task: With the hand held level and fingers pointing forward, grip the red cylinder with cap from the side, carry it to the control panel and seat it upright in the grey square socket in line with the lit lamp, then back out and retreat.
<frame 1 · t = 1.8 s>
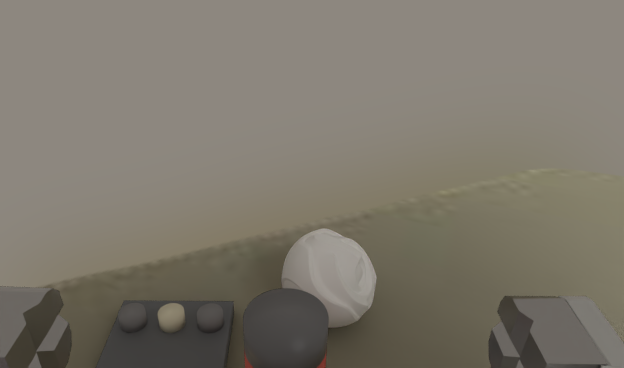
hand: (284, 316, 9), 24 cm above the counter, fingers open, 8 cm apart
white swirled ball: (325, 314, 43), on the counter
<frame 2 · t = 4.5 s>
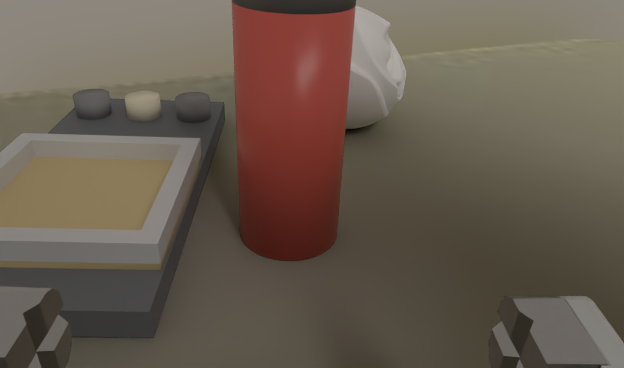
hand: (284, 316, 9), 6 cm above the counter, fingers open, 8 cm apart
control panel: (110, 190, 25), on the counter
white swirled ball: (341, 126, 34), on the counter
red cylinder with cap: (288, 230, 23), on the counter
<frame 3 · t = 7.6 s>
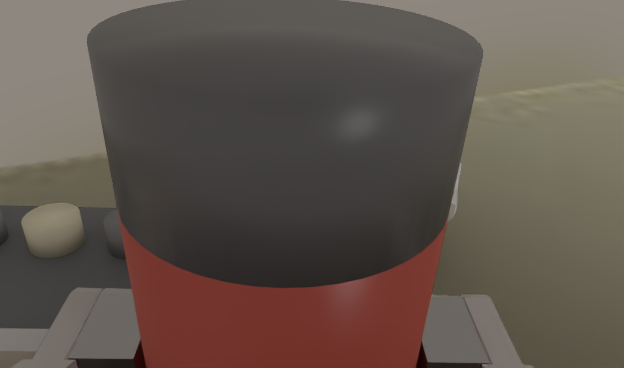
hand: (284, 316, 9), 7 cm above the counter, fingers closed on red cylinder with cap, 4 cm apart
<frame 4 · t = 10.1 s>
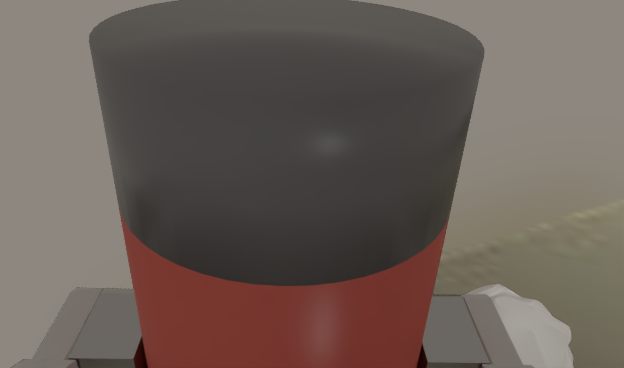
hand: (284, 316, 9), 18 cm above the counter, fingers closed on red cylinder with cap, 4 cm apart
when the fingers open (9 cm above the counter, at t = 12.6 s): red cylinder with cap drops 1 cm, resting on control panel.
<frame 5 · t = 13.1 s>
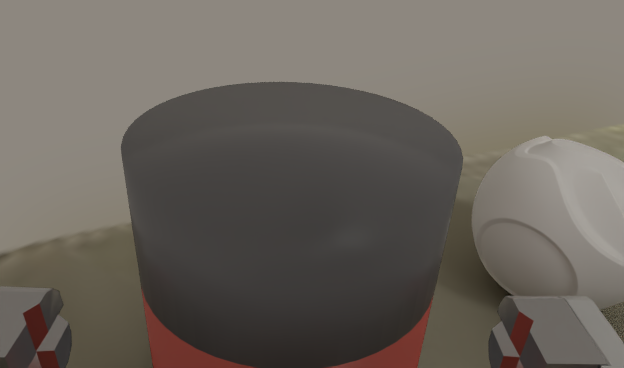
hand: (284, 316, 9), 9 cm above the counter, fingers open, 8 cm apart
white swirled ball: (534, 290, 25), on the counter
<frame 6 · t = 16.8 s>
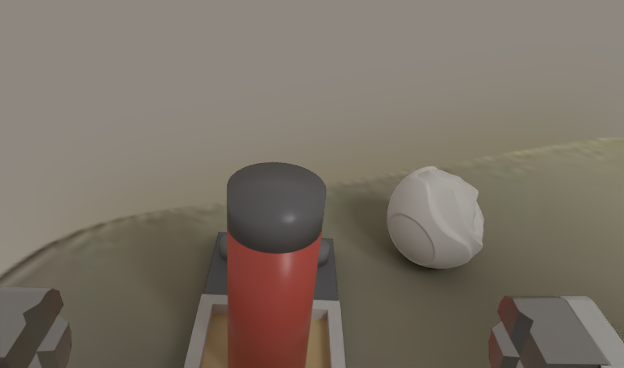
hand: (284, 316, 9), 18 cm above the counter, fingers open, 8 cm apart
control panel: (268, 340, 32), on the counter
white swirled ball: (425, 258, 41), on the counter
red cylinder with cap: (266, 364, 29), point 2 cm above the counter, touching control panel
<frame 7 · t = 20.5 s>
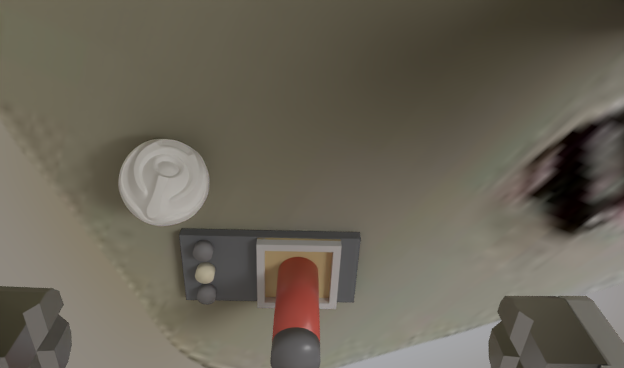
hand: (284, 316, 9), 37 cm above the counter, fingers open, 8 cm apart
control panel: (271, 263, 56), on the counter
white swirled ball: (174, 162, 50), on the counter
red cylinder with cap: (298, 272, 55), point 2 cm above the counter, touching control panel
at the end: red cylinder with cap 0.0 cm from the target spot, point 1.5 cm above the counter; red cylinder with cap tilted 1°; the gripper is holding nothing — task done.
